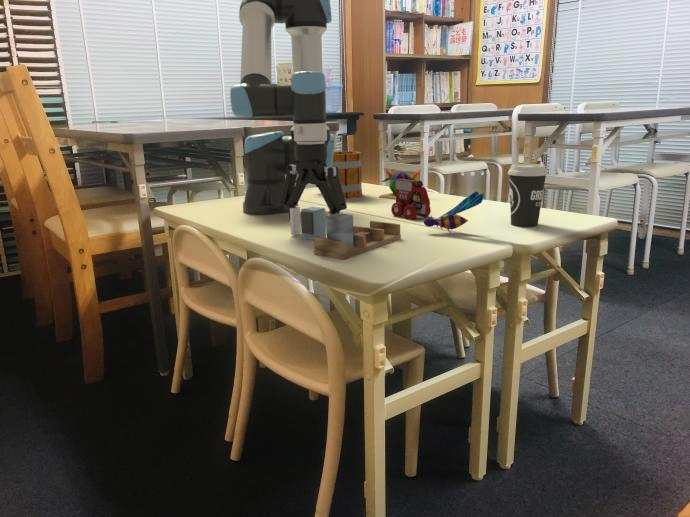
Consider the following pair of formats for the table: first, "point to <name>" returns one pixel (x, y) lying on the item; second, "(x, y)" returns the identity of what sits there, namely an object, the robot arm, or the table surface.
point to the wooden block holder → (353, 237)
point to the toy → (455, 213)
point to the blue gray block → (313, 223)
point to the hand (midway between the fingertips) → (314, 236)
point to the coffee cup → (526, 193)
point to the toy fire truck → (411, 199)
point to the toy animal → (392, 182)
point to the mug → (349, 172)
